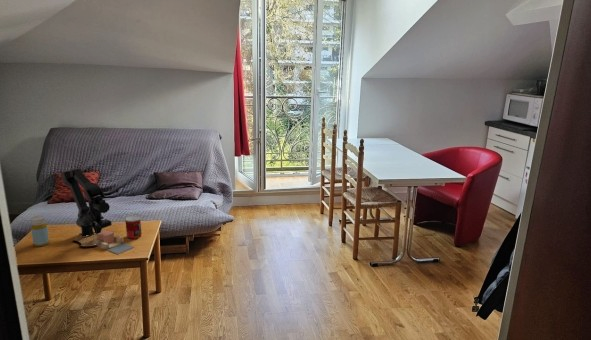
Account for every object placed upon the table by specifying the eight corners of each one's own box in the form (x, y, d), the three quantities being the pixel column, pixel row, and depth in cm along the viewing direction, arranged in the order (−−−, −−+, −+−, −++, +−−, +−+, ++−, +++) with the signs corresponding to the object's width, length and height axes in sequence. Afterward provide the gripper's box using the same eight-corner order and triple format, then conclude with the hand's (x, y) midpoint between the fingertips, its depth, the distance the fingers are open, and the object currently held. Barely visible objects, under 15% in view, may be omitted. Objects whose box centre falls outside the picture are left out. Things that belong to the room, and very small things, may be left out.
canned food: (136, 239, 227) (135, 221, 224) (123, 238, 228) (122, 220, 225) (144, 234, 234) (143, 216, 231) (131, 233, 236) (130, 215, 233)
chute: (93, 244, 220) (92, 239, 219) (110, 238, 228) (109, 233, 228) (106, 250, 214) (106, 245, 213) (123, 243, 222) (123, 238, 222)
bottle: (52, 242, 221) (48, 216, 217) (39, 247, 215) (35, 221, 211) (43, 240, 224) (39, 214, 220) (31, 245, 218) (26, 218, 214)
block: (97, 242, 221) (96, 233, 220) (107, 238, 226) (106, 230, 225) (104, 245, 218) (103, 236, 217) (114, 241, 223) (113, 232, 222)
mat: (107, 250, 214) (107, 249, 214) (124, 243, 222) (124, 243, 222) (117, 254, 209) (117, 253, 209) (134, 247, 218) (134, 246, 218)
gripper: (70, 209, 219) (74, 236, 223) (91, 216, 210) (94, 244, 214) (90, 203, 228) (93, 229, 232) (110, 210, 219) (113, 237, 223)
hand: (98, 235), depth 225 cm, fingers closed
